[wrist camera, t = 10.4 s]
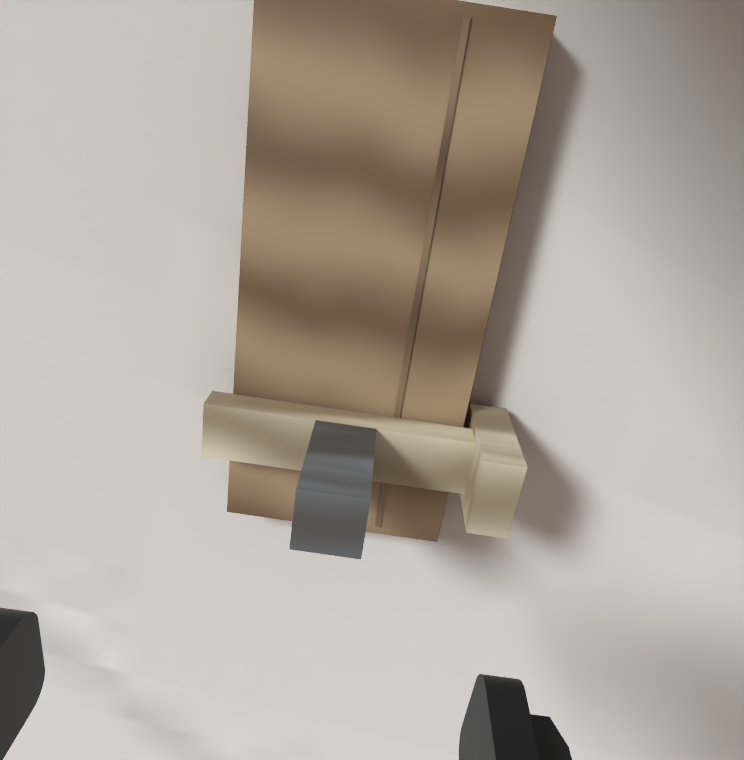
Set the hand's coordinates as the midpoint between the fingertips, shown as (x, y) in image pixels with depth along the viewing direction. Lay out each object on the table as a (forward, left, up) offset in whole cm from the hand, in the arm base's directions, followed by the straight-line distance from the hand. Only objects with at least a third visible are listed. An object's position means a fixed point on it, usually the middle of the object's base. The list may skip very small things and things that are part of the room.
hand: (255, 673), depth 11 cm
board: (-1, +1, -22) cm, 22 cm away
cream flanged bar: (+6, +1, -22) cm, 23 cm away
